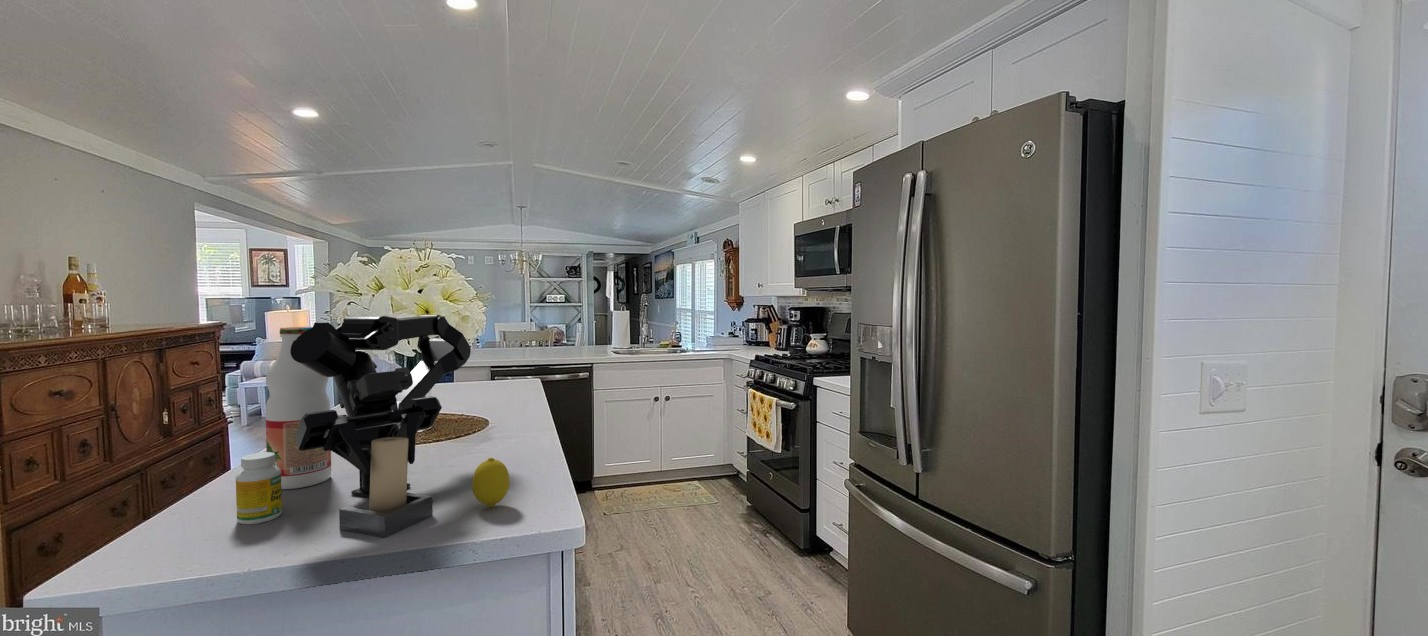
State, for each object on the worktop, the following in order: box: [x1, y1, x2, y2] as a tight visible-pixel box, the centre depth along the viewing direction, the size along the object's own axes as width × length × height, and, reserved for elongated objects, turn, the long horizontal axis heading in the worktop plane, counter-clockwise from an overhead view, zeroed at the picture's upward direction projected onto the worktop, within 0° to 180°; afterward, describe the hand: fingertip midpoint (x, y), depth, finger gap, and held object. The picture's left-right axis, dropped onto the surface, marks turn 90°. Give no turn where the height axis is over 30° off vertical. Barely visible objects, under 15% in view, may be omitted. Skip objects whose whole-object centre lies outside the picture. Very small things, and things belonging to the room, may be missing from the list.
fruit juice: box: [264, 326, 332, 490], centre depth 102 cm, size 9×9×28 cm
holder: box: [338, 492, 434, 539], centre depth 84 cm, size 8×8×3 cm
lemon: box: [471, 457, 510, 508], centre depth 90 cm, size 6×6×8 cm
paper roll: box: [368, 437, 409, 513], centre depth 84 cm, size 5×5×12 cm
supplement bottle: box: [235, 451, 283, 525], centre depth 85 cm, size 5×5×10 cm
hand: (390, 467), depth 83 cm, fingers open, 6 cm apart
